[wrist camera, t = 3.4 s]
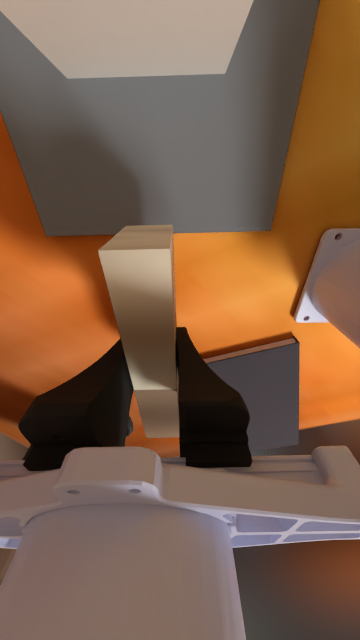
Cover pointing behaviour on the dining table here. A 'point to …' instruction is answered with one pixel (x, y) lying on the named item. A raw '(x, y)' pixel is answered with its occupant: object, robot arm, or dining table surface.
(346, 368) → the dining table surface
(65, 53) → the tile
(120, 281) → the long wooden beam
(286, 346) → the notebook
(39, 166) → the slate mat
